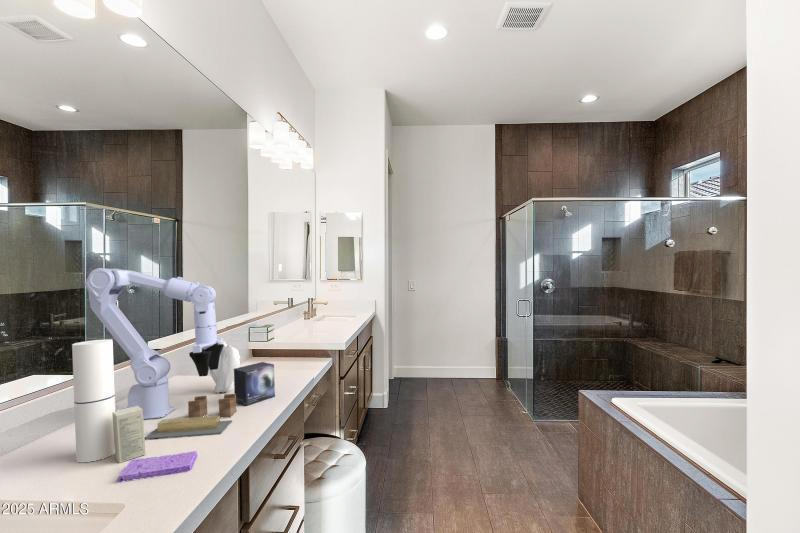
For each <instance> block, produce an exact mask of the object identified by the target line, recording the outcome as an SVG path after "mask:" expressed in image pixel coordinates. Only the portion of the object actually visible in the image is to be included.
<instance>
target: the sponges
mask: <svg viewBox="0 0 800 533" xmlns="http://www.w3.org/2000/svg"><path fill="white" fill-rule="evenodd" d="M197 458H198V450H195V451H188V452H180V453H176V454H175V453H174V454H167V455H160V456H151V457H146V458H133V459H130V460H129V462H128V463H127V465H126V466H125V467H124V468H123V470H122V471H121V472H120V473H119V475H118V477H117V478H118V482H119V483H123V482H122V481H125V482H128V481H127V480H131V481H134V480H133V479H138V480H141V479H140V478H144V479H148V478H147V477H150V478H154V476H157V477H161V476H168V475H175V474H181V473H187V472H190V471H191V470H193V467H194V465H195V462H196V460H197Z"/></svg>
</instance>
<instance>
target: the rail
mask: <svg viewBox="0 0 800 533" xmlns="http://www.w3.org/2000/svg"><path fill="white" fill-rule="evenodd" d="M220 421H221V418H220V415H219V414H218V415H205V416H204V417H191V418H189V417H179V418H169V419H168V418H165V419H161V420H160V421H159V422H157V428H158V433H167V432H180V431H193V430H206V429H216V428H217V427H218V426H219V425H220Z"/></svg>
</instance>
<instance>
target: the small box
mask: <svg viewBox="0 0 800 533" xmlns="http://www.w3.org/2000/svg"><path fill="white" fill-rule="evenodd" d="M233 389H234V391H233V392H234V393H233V394H236V404H237V403H238V404H237V405H240V404H241V406H244V407H247V406H251V405H254V404H257V403H260V402H263V401H265V400H269V399H272V398H275V397H276V387H275V364H274V363H270V362H269V363H268V362H265V361H264V362H263V361H261V362H257V363H252V364H249V365H245V366H239V368H235V369H234V381H233Z"/></svg>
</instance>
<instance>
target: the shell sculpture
mask: <svg viewBox="0 0 800 533" xmlns="http://www.w3.org/2000/svg"><path fill="white" fill-rule="evenodd" d="M218 337H219V340H222V342H220V343H219V344H224V347H223V349H222V351H221V354H220V359H219V365H218V369H215V370H210V368H209V370H208V373H209V374H210V377H211V378H212V380H213V381H214V383H215V386H214V392H215V393H216V392H217V393H216V394H220V393H219V392H223V393H224V392H227V393H229V392H231V391H232V390H233V389H234V369H235V368H239V367H240V365H241V363H240V359H241V355H240V354H239V350H238V349H237V348H236V347H233V346H232V345H231V344H230V343H228V344H227V343H226V341H225V340H223V337H222V336H218ZM230 390H231V391H230Z"/></svg>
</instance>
